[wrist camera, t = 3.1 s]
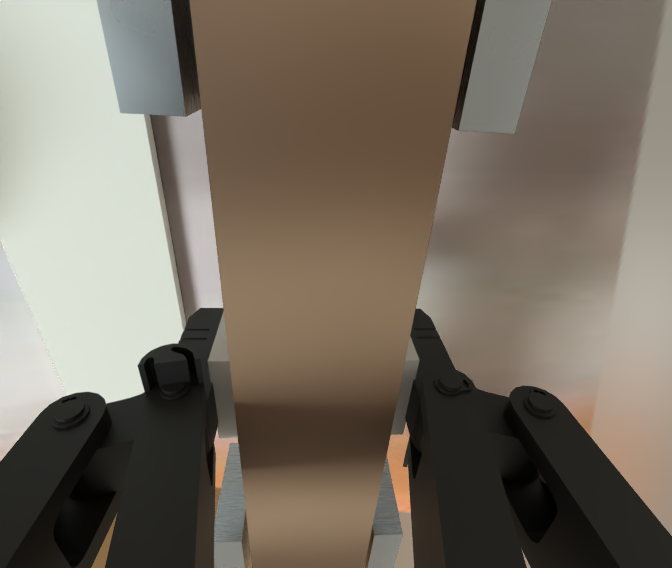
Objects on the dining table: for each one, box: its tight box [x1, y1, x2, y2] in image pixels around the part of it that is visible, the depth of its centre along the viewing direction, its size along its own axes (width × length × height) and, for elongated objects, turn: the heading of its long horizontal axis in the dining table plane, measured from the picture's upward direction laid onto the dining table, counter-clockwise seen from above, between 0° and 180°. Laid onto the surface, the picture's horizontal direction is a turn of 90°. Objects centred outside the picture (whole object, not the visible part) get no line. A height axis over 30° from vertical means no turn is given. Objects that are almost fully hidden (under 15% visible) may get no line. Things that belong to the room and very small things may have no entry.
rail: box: [189, 0, 477, 568], centre depth 10 cm, size 26×4×4 cm, turn 177°
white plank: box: [0, 0, 186, 404], centre depth 17 cm, size 26×7×1 cm, turn 177°
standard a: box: [214, 443, 403, 568], centre depth 18 cm, size 6×6×10 cm
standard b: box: [97, 0, 552, 134], centre depth 10 cm, size 6×6×10 cm
